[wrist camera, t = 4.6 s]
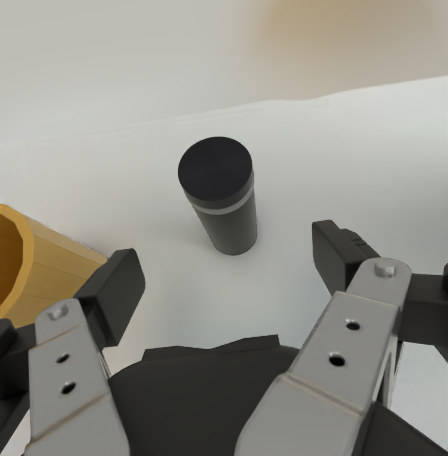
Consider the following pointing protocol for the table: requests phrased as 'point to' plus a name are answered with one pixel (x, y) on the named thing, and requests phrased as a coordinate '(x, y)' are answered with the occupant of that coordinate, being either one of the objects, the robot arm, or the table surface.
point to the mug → (38, 266)
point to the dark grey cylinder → (221, 191)
